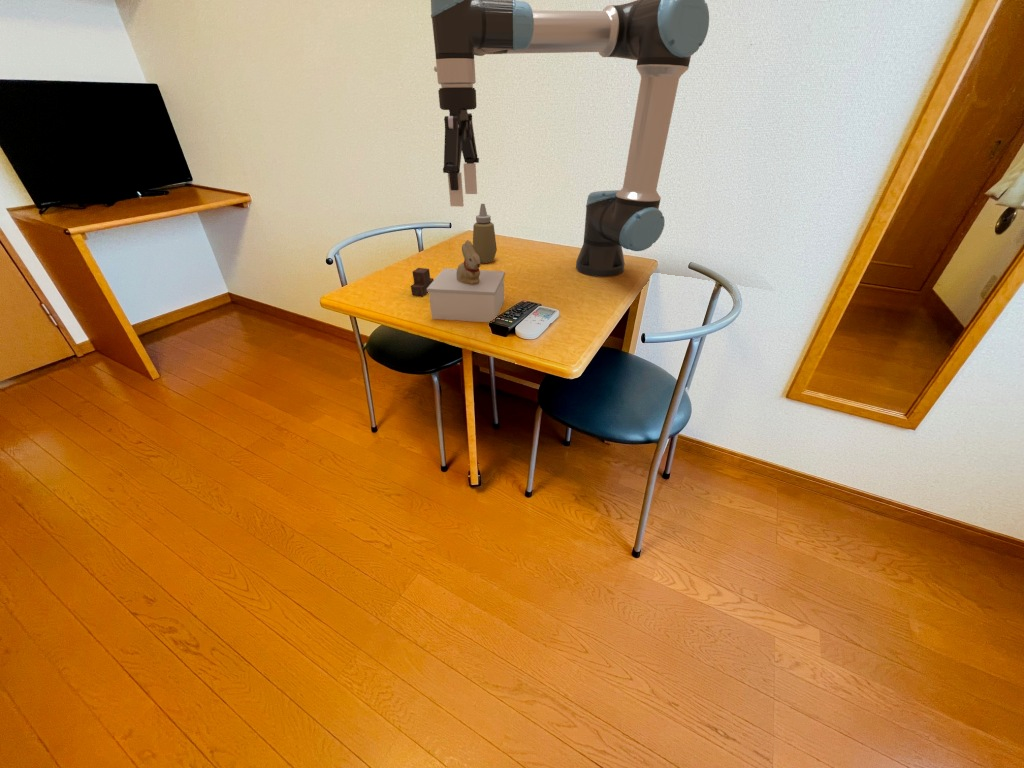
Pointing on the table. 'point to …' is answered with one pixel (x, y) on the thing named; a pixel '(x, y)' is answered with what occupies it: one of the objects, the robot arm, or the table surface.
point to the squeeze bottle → (484, 236)
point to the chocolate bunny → (469, 265)
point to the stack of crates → (421, 282)
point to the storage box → (466, 296)
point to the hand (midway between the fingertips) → (464, 199)
